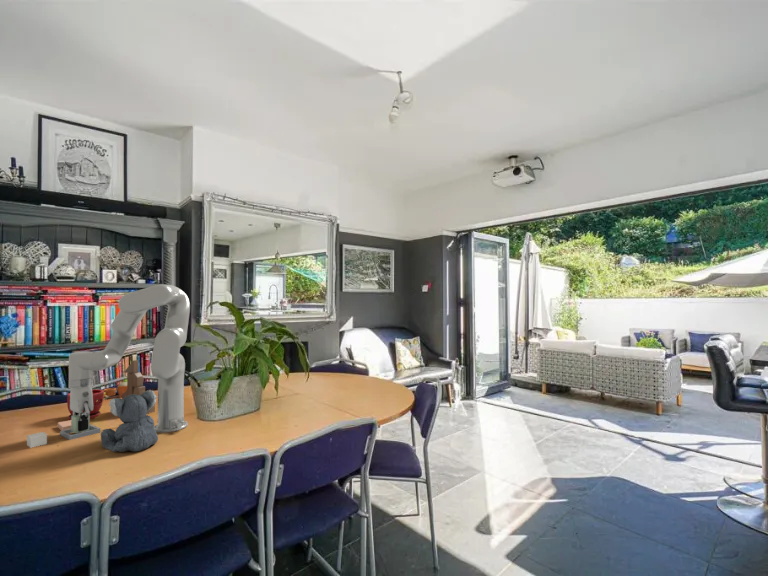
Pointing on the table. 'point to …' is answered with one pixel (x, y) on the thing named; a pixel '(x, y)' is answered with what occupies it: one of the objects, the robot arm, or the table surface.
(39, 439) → the cream cube
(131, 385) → the wooden toy
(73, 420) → the sage block
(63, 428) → the terracotta brick
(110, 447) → the koala plush
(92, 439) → the table surface
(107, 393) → the toy tea set
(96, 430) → the grey tray
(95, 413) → the plant pot
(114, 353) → the robot arm
